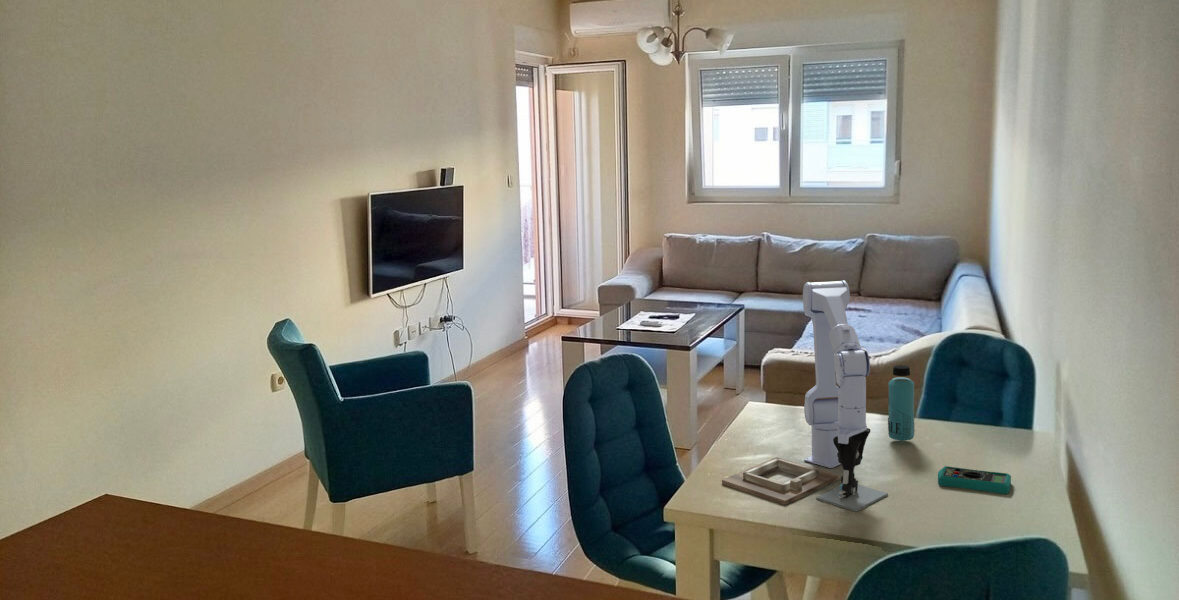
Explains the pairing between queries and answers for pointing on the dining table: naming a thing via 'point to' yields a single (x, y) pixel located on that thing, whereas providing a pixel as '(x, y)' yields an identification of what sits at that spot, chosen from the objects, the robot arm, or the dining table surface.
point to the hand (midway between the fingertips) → (852, 465)
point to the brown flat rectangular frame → (777, 491)
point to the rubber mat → (853, 498)
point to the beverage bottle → (901, 405)
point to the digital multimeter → (974, 480)
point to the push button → (849, 479)
